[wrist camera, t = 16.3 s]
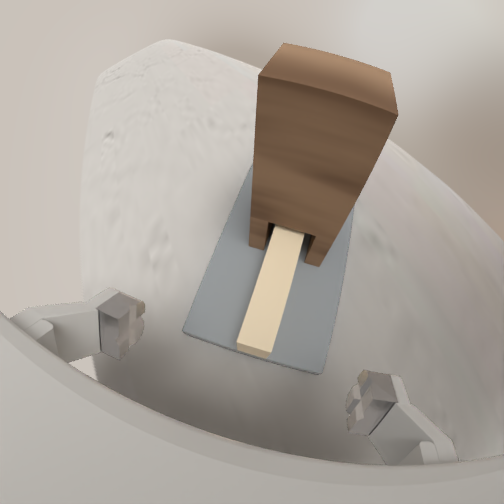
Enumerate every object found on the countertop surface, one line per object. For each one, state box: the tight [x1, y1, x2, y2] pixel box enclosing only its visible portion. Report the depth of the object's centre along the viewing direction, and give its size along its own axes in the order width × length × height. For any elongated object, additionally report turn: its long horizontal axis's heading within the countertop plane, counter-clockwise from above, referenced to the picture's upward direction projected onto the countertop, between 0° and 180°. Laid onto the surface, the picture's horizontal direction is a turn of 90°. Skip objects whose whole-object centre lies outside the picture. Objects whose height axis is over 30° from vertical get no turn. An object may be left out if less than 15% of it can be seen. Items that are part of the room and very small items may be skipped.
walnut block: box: [249, 43, 398, 267], centre depth 16 cm, size 4×6×14 cm
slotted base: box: [182, 164, 354, 375], centre depth 22 cm, size 20×10×5 cm, turn 163°
